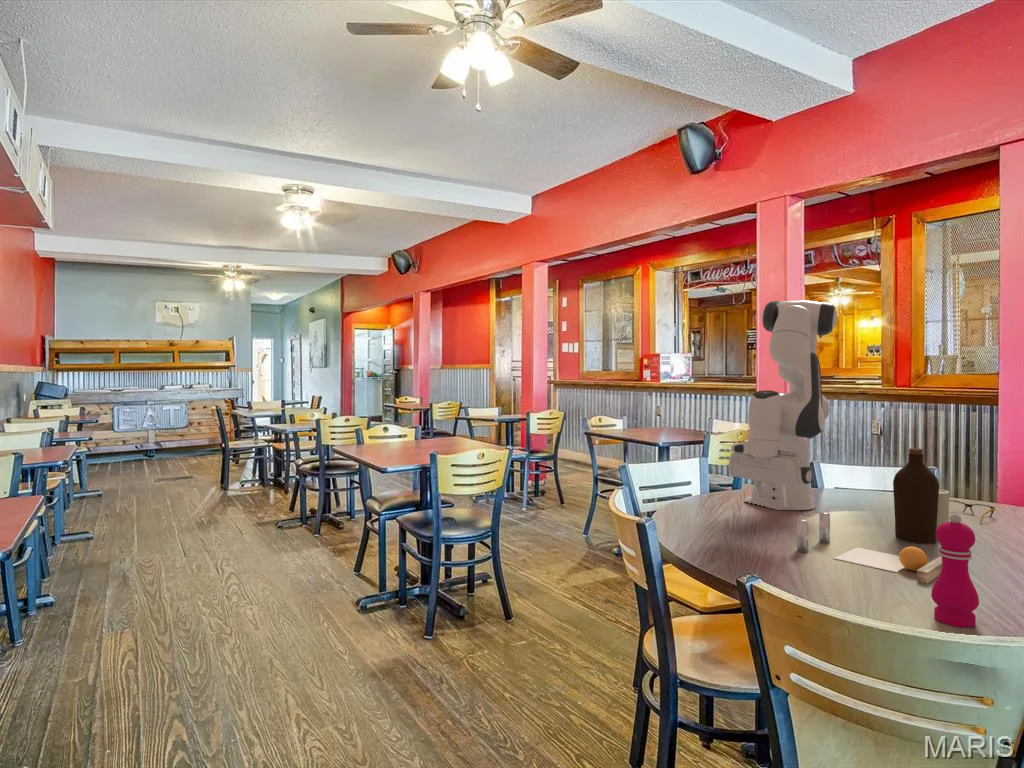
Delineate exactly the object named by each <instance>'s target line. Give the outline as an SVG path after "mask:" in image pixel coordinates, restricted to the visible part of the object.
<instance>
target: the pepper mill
mask: <svg viewBox="0 0 1024 768" xmlns="http://www.w3.org/2000/svg"><path fill="white" fill-rule="evenodd" d="M936 542H938V543H939V544H940V546H938V550H939V551H938V555H940V556H942V569H941V572H940V575H939V576H938V577H937V578H936V579H935V581H934V583H933V585H932V588H931V593H930V594H931V596H930V597H931V599H932V600H933V601H934V603H935V604H936V606H935V607H934V608H933V609H934V610H933V611H934V612H933V613H934V614H933V615H934V617H933V618H934V619H935V620H936V621H938V622H940V623H941V624H943V625H944V624H945V625H948V626H952V627H957V628H972V627H975V626H976V620H977V619H976V618H977V617H976V614H975V613H974V611H975V610H976V609H978V607H979V606H980V598H979V594H978V591H977V589H976V586H975V585H974V583H973V582H972V579H971V577H970V572H969V561H970V560H971V559H972V558H973V556H972V553H973V551H972V550H971V548H972V547H973V546H974V545H975V543H976V535H975V532H974V530H973V529H972V528H971V527H970V526H968V525H967V524H964V523H962V517H961V516H960V515H959V514H957V513H953V514H951V515H949V522H945V523H943V524H941V525H939V526H938V528H937V530H936Z"/></svg>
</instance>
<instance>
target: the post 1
mask: <svg viewBox="0 0 1024 768" xmlns="http://www.w3.org/2000/svg"><path fill="white" fill-rule="evenodd" d="M796 525H797V526H796V527H797V529H796V536H797V538H796V539H797V540H796V551H797V552H798V551H799V553H804V552H807V553H809V520H808V519H801V518H798V519H796Z"/></svg>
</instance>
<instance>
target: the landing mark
mask: <svg viewBox="0 0 1024 768" xmlns="http://www.w3.org/2000/svg"><path fill="white" fill-rule="evenodd" d="M833 559H834V560H836V561H842V562H847V563H850V564H856V565H860V566H864V567H869V568H874V569H877V568H878V570H882V569H883V570H882V571H886V570H887V572H891V571H892V573H895V572H896V573H895V574H898V573H899V572H901V571H903V570H905V569H906V568H905V567H904V566H903V565H902V564H901V562H900V560H899V555H897V554H892V553H886V552H882V551H877V550H872V549H867V548H862V547H855V548H853V549H852V548H851V550H847V551H846V552H844V553H841V554H840V555H837V556H835V557H833ZM902 569H903V570H902ZM900 570H901V571H900Z"/></svg>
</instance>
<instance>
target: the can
mask: <svg viewBox="0 0 1024 768" xmlns="http://www.w3.org/2000/svg"><path fill="white" fill-rule="evenodd" d="M949 500H950V491H949V490H945V489H943V488H939V498H938V513H937V528H938V526H939V525H941V524H943V523H945V522H950V519H949V518H950V513H949V512H950V501H949Z"/></svg>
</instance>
